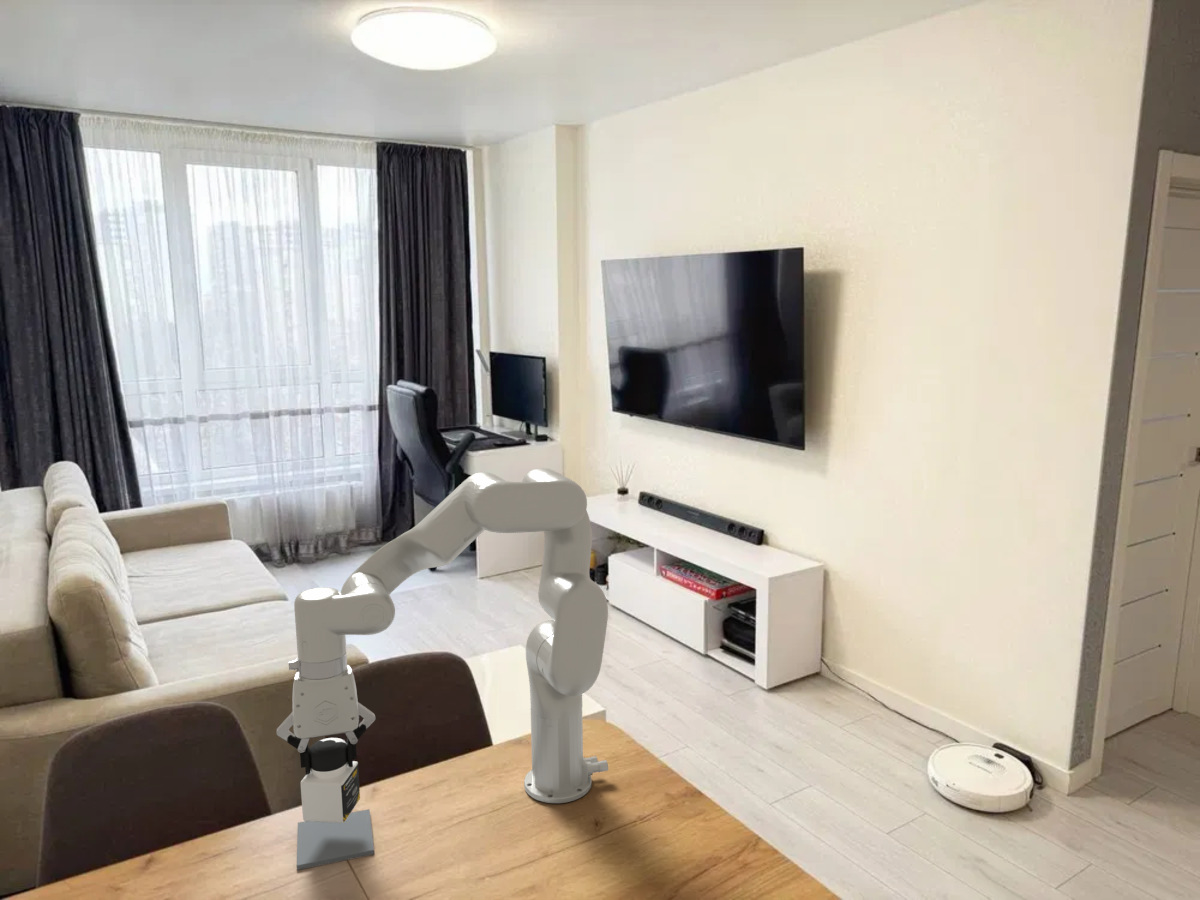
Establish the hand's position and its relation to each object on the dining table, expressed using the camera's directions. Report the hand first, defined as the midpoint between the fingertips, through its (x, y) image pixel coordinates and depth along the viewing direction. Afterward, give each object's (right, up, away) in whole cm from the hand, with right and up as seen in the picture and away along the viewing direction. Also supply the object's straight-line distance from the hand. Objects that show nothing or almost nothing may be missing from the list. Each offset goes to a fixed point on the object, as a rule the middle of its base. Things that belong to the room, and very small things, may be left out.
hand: (329, 765), depth 141 cm
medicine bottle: (0, -8, +1) cm, 8 cm away
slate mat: (0, -13, +2) cm, 14 cm away
